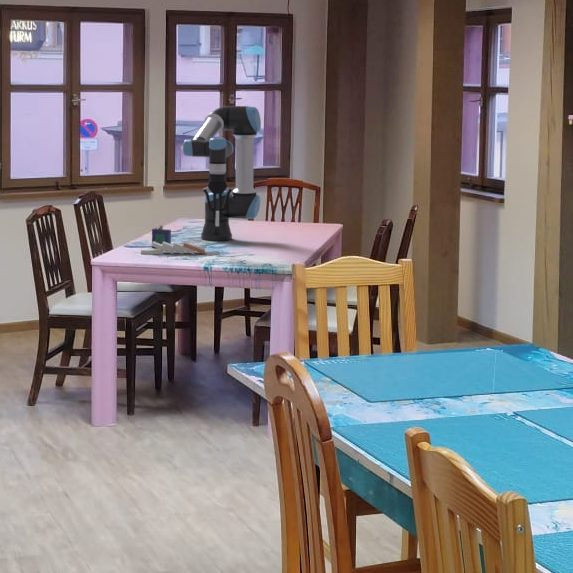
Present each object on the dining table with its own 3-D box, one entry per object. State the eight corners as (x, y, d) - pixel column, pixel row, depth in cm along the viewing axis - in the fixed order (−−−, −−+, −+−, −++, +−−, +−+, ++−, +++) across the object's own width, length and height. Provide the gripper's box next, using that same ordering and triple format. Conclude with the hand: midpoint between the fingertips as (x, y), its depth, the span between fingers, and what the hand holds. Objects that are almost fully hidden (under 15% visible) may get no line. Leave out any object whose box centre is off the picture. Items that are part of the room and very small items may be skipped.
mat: (152, 255, 525) (152, 254, 525) (152, 252, 535) (152, 251, 535) (220, 256, 528) (220, 255, 528) (219, 252, 538) (219, 252, 538)
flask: (171, 248, 547) (171, 225, 545) (169, 249, 545) (169, 226, 543) (153, 247, 550) (152, 224, 548) (150, 248, 547) (150, 225, 545)
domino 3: (183, 254, 529) (161, 246, 528) (182, 252, 534) (161, 244, 532) (184, 250, 529) (163, 242, 527) (184, 249, 534) (163, 241, 532)
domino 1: (163, 254, 528) (140, 253, 527) (163, 252, 533) (141, 252, 532) (163, 250, 528) (140, 250, 527) (163, 248, 533) (141, 248, 532)
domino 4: (194, 254, 530) (172, 246, 528) (193, 252, 534) (172, 244, 533) (195, 251, 529) (174, 243, 528) (195, 249, 534) (174, 241, 533)
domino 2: (172, 254, 529) (151, 245, 527) (172, 252, 534) (151, 244, 532) (174, 250, 528) (153, 242, 527) (174, 249, 533) (153, 241, 532)
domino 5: (203, 254, 530) (182, 246, 528) (203, 252, 535) (182, 244, 533) (205, 250, 530) (184, 243, 528) (204, 249, 535) (183, 241, 533)
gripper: (203, 173, 522) (202, 227, 527) (232, 174, 524) (232, 227, 528) (202, 172, 530) (202, 224, 534) (231, 172, 531) (231, 224, 536)
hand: (217, 225), depth 531 cm, fingers closed
